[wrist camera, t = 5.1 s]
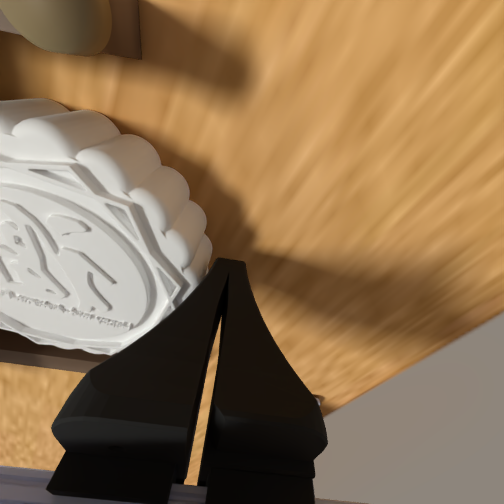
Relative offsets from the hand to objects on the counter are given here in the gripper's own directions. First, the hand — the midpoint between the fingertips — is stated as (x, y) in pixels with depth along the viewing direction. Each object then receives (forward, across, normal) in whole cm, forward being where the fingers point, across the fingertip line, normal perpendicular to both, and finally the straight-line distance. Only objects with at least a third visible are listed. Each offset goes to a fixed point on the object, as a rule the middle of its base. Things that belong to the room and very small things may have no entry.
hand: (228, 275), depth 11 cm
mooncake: (+2, +7, 0) cm, 7 cm away
